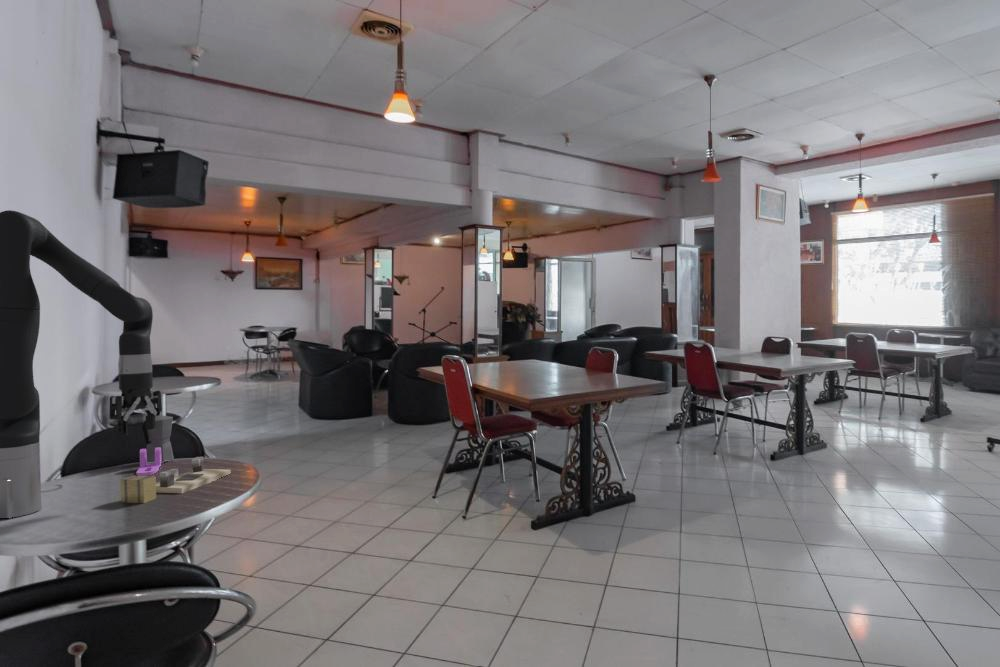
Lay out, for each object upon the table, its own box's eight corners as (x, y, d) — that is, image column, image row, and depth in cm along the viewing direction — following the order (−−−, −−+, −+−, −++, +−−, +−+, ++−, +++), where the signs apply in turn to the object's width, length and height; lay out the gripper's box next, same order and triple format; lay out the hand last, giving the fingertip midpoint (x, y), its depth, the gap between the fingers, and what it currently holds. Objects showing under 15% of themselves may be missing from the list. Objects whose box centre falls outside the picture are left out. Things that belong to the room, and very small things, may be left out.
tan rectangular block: (156, 498, 147) (155, 476, 147) (143, 503, 143) (143, 480, 143) (134, 497, 149) (133, 475, 149) (121, 502, 145) (120, 479, 145)
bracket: (142, 469, 182) (141, 448, 182) (161, 466, 184) (161, 446, 184) (135, 478, 170) (134, 455, 170) (156, 475, 172) (155, 453, 172)
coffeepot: (155, 457, 198) (154, 407, 197) (182, 456, 198) (181, 407, 198) (129, 468, 182) (128, 414, 182) (159, 467, 183) (157, 413, 183)
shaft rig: (181, 493, 151) (181, 473, 151) (144, 492, 154) (144, 472, 154) (230, 474, 171) (230, 456, 171) (197, 473, 173) (196, 456, 173)
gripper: (124, 373, 138) (126, 437, 138) (168, 369, 152) (170, 427, 152) (99, 373, 140) (101, 437, 140) (145, 369, 154) (147, 427, 154)
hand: (137, 432), depth 146 cm, fingers open, 8 cm apart
